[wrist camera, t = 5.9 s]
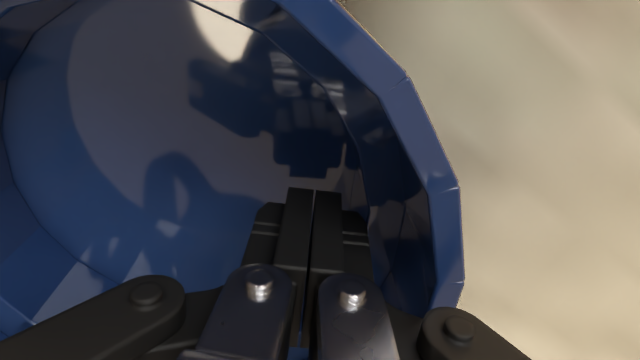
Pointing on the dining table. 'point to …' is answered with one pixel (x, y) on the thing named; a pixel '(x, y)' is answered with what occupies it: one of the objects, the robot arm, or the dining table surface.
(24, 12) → the bowl
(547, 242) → the dining table surface
